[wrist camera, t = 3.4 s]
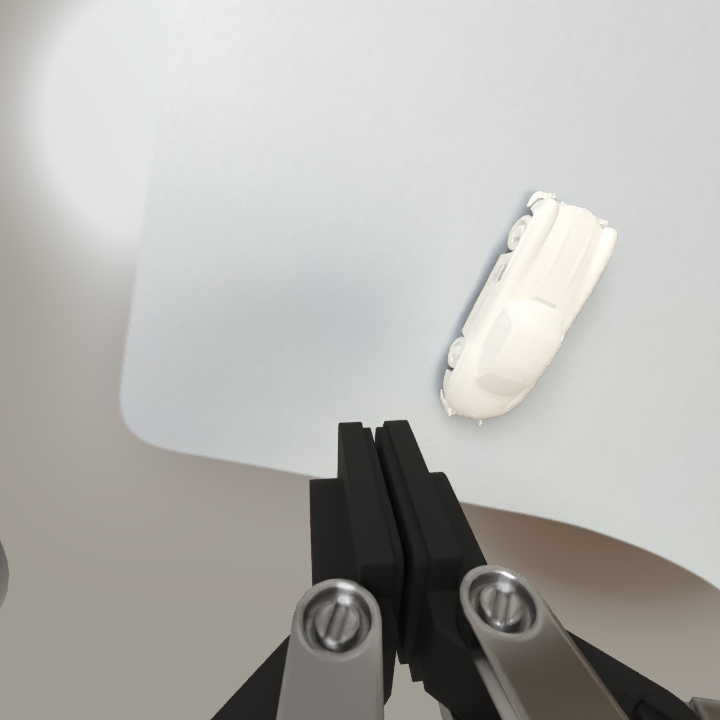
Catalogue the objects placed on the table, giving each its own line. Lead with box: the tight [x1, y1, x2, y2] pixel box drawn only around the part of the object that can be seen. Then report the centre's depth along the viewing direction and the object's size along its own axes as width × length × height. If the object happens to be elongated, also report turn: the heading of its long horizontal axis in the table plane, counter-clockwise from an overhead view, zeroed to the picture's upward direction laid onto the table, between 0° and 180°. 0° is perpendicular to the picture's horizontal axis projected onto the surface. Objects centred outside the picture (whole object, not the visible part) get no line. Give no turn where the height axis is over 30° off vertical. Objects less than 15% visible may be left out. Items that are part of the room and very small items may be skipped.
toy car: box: [440, 192, 618, 425], centre depth 21 cm, size 5×12×3 cm, turn 157°
